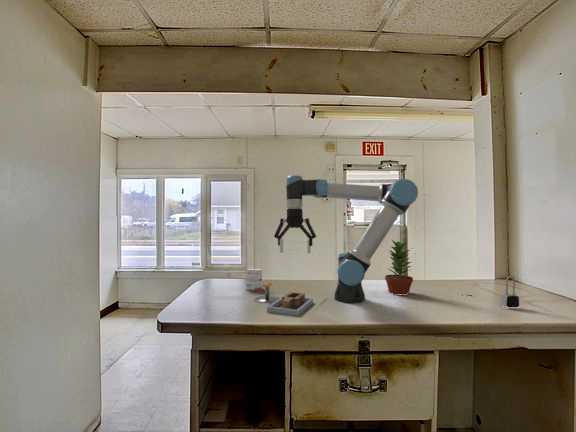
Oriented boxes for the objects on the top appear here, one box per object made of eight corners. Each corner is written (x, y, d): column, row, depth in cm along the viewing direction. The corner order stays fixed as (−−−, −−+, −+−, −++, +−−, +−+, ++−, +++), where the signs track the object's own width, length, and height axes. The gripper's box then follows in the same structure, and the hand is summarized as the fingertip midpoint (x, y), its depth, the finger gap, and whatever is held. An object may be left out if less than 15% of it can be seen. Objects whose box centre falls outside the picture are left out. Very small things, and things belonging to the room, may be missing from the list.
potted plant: (418, 296, 164) (419, 239, 164) (389, 296, 164) (390, 239, 164) (408, 290, 179) (408, 237, 179) (381, 289, 179) (382, 237, 179)
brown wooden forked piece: (290, 302, 148) (290, 291, 148) (304, 304, 146) (304, 293, 146) (277, 311, 134) (277, 299, 134) (293, 313, 131) (293, 301, 131)
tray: (312, 304, 146) (313, 298, 146) (298, 318, 127) (298, 310, 127) (285, 301, 151) (285, 295, 151) (266, 313, 132) (266, 306, 132)
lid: (284, 299, 155) (284, 282, 155) (274, 306, 143) (274, 287, 143) (260, 296, 159) (261, 279, 159) (248, 303, 147) (249, 285, 147)
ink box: (262, 289, 175) (262, 268, 175) (260, 292, 170) (260, 270, 170) (247, 289, 176) (247, 268, 176) (245, 291, 171) (245, 269, 171)
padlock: (513, 306, 148) (513, 275, 148) (520, 309, 144) (520, 276, 144) (499, 306, 148) (500, 274, 148) (506, 309, 143) (506, 276, 143)
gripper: (267, 208, 149) (267, 253, 149) (318, 207, 142) (319, 254, 142) (272, 209, 156) (273, 251, 156) (321, 208, 149) (322, 252, 149)
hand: (295, 252), depth 149 cm, fingers open, 13 cm apart
